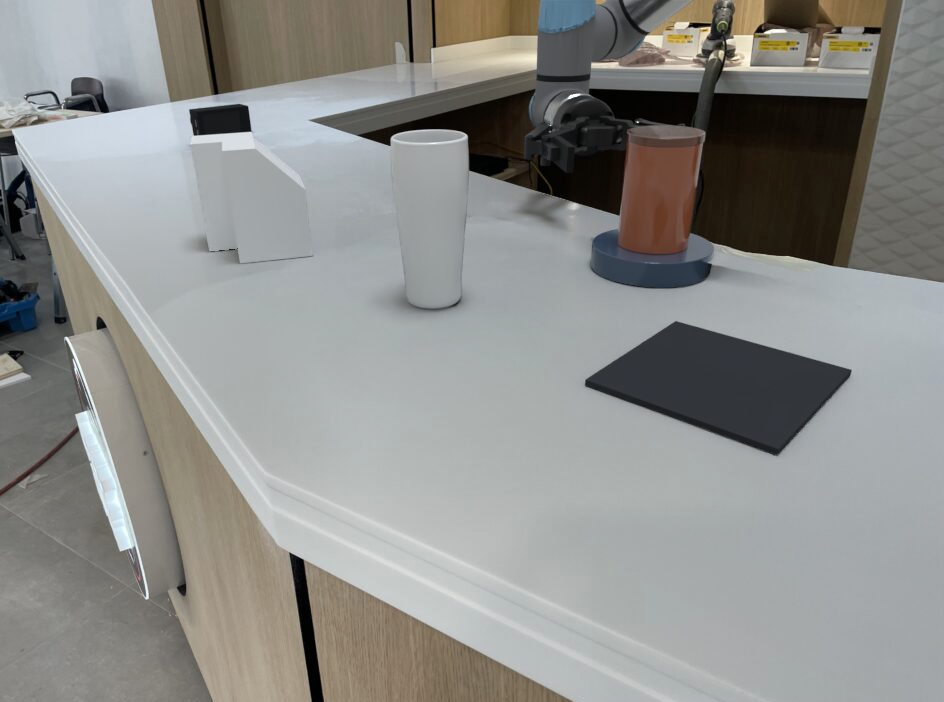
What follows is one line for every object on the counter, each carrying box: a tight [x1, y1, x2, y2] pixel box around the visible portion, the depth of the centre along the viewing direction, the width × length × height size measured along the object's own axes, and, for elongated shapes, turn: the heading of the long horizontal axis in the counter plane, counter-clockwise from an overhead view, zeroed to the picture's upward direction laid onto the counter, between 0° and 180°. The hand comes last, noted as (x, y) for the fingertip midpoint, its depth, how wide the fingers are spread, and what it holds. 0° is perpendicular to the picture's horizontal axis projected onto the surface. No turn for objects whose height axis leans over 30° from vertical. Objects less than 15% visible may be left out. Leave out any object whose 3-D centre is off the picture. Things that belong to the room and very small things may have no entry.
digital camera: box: [188, 103, 253, 136], centre depth 142 cm, size 10×5×7 cm, turn 126°
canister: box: [617, 124, 707, 255], centre depth 72 cm, size 7×7×11 cm
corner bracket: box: [189, 131, 314, 264], centre depth 82 cm, size 11×11×12 cm
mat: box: [584, 320, 852, 456], centre depth 54 cm, size 14×14×1 cm
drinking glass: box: [390, 129, 470, 310], centre depth 66 cm, size 7×7×15 cm
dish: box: [590, 228, 715, 289], centre depth 75 cm, size 12×12×2 cm
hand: (633, 157), depth 78 cm, fingers open, 13 cm apart
